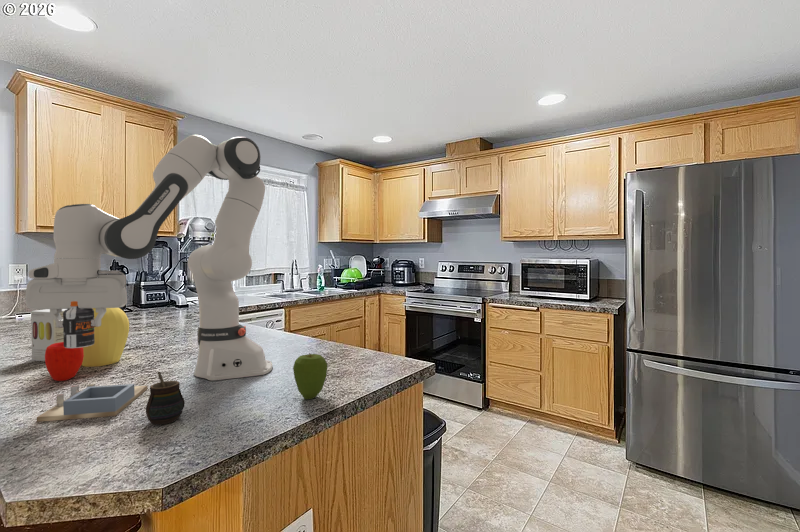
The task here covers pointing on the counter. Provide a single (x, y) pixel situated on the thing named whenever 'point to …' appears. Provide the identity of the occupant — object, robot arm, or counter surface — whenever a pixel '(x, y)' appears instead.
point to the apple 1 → (63, 361)
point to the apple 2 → (310, 374)
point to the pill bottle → (78, 326)
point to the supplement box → (44, 332)
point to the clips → (73, 391)
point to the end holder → (99, 399)
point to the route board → (58, 413)
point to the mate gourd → (164, 402)
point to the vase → (107, 339)
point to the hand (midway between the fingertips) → (79, 326)
